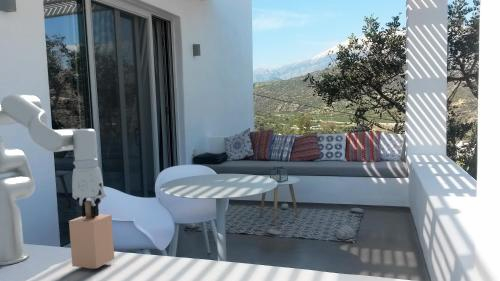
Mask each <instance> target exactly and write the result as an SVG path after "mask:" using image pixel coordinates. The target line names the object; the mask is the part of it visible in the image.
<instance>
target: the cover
mask: <svg viewBox="0 0 500 281" xmlns="http://www.w3.org/2000/svg"><path fill="white" fill-rule="evenodd" d="M91 206H92V202H91V199H87V201H85V215H86V217H82V215H81V216H78V217H75V218H74V219H70V220H68V224H69V225H68V227H69V239H70V252H71V266H72V267H73V268H74V267H75V268H77V267H78V268H87V269H88V268H95V269H98V268H100V267H101V266H103V265H105V264H107V263H109V262H111V261H112V260H115V248H114V247H115V246H114V234H113V233H114V232H113V219H112V214H100V213H99V215H98V216H96V217H91Z"/></svg>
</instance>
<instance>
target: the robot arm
mask: <svg viewBox="0 0 500 281" xmlns="http://www.w3.org/2000/svg"><path fill="white" fill-rule="evenodd" d="M47 122H48V113H47V112H46V110H45V109H43V104H42V101H41V100H40V99H39V98H38V97H37V96H36V95H33V94H27V93H26V94H24V93H22V94H21V93H19V94H17V93H15V94H14V93H12V94H8V95H6V96H4V97H3V98H2V99H1V101H0V126H3V125H4V126H5V125H6V126H7V125H15V124H20V125H21V126H22V127H24V128H26V129H27V130H28V131H27V132H28V134H29V136H30V138H31V140H32V141H33V142H35V144H37V145H38V146H40V147H41V148H43V149H44V150H47V151H48V152H53V153H58V152H63V151H64V152H65V151H73V155H74V161H73V162H72V164H73V165H74V167H75V168H73V170H72V178H71V179H72V180H71V186H72V187H71V189H72V190H71V192H72V198H73V199H74V200H76V201H77V203H78V204H79V206H80V207H81V209H80V210H81V216H82V217H86V215H85V201H87V200H88V198H89V199H90V200H91V202H92V206H91V217H96V216H98V215H99V214H100V213H99V212H100V211H99V210H100V209H99V205H100V204H101V202H102V200H105V199H106V197H107V195H106V193H105V192H104V191H105V190H104V188H105V187H104V181H103V180H104V179H103V175H102V171H101V168H100V167H99V157H98V144H97V142H98V141H97V132H96V130H95V129H93V128H80V129H78V128H61V129H53V128H51V127H49V126H47V125H46V123H47ZM2 138H3V137H2V136H1V135H0V175H5V174H6V175H7V174H10V176H5V177H4V176H3V177H0V266H7V265H12V264H14V265H15V264H18V263H20V262H24V261H25V260H27V259H28V258H29V256H30V255H29V252H27V251H25V250H24V248H25V246H24V236H23V222H22V213H21V209H20V207H19V205H18V204H17V203H16V202H15V201H19V200H22V199H26V198H29V197H31V196H32V195H33V194H34V193H35V191H36V182H35V179H34V175H33V172H32V168H31V166H30V162H29V160H28V157H27V155H26V154H25V152H24V151H23V150H21V149H19V148H16V147H14V148H13V147H12V148H11V147H10V148H6V147H5V144H4V142H3V139H2Z"/></svg>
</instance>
